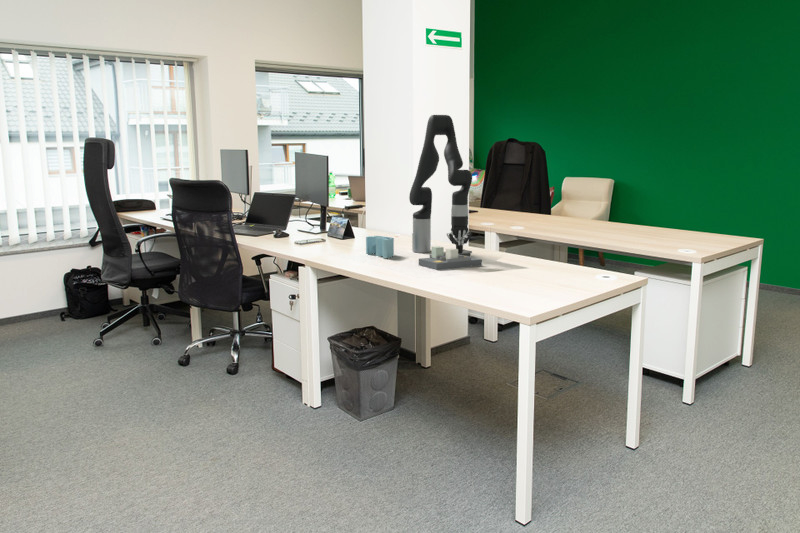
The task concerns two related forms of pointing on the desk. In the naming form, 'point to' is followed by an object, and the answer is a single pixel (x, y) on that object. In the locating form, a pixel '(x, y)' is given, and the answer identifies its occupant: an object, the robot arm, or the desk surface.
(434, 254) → the pale green block
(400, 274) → the desk surface
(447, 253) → the cream tab
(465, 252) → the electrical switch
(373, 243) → the squiggly pen holder
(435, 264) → the switch panel
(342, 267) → the desk surface
